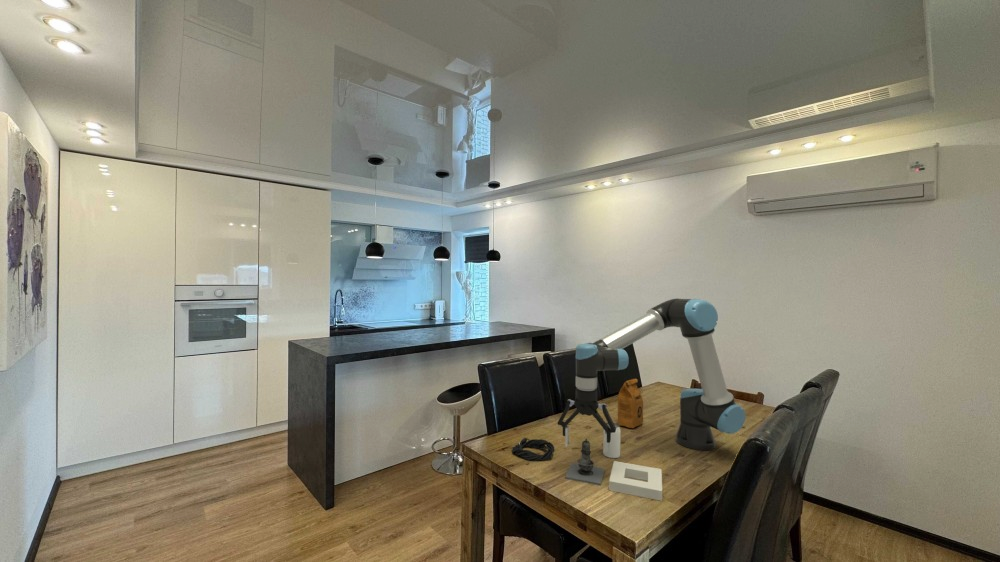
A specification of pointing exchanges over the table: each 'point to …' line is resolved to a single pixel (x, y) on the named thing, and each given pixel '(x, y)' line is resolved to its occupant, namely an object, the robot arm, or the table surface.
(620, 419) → the coffee package
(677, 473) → the table surface
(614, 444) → the can
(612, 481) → the white square tray
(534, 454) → the cable
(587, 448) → the grey statuette
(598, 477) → the rubber mat
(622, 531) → the table surface
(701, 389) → the robot arm
